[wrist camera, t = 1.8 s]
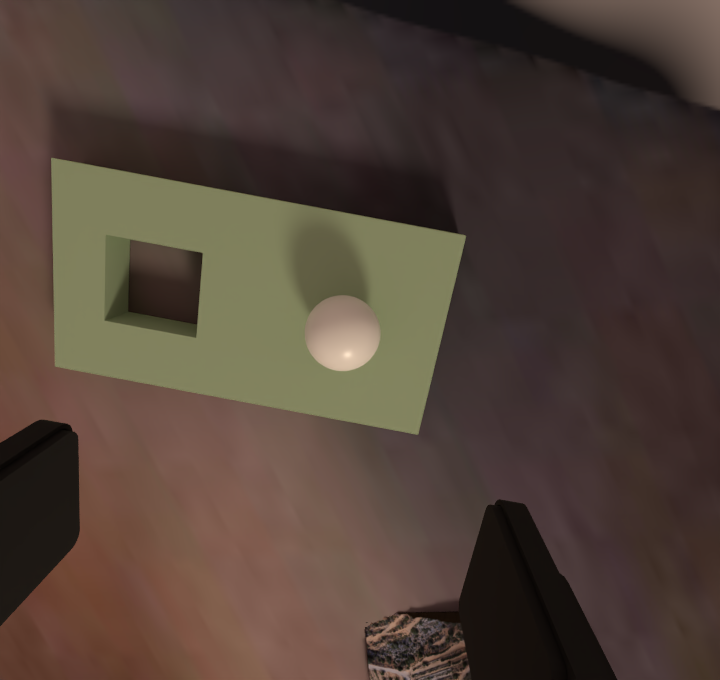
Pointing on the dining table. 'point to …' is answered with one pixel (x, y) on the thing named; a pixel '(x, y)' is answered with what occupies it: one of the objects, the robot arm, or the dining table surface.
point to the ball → (342, 333)
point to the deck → (247, 294)
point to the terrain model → (417, 647)
